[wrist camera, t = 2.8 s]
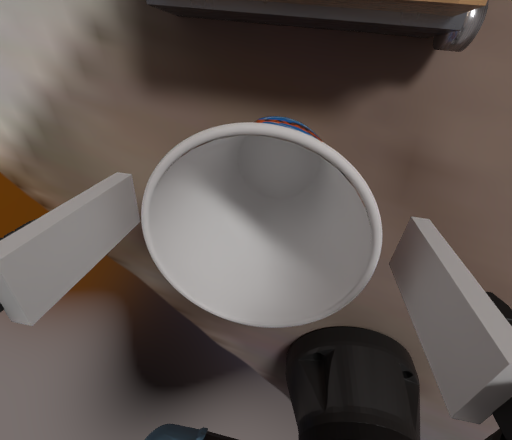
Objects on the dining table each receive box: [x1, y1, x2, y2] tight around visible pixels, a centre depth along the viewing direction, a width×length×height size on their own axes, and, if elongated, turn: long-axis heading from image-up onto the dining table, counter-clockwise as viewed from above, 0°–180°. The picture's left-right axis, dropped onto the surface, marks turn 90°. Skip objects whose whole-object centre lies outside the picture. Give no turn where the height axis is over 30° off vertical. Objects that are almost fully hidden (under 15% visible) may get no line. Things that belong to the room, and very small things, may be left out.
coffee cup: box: [141, 116, 382, 328], centre depth 16 cm, size 10×10×12 cm
